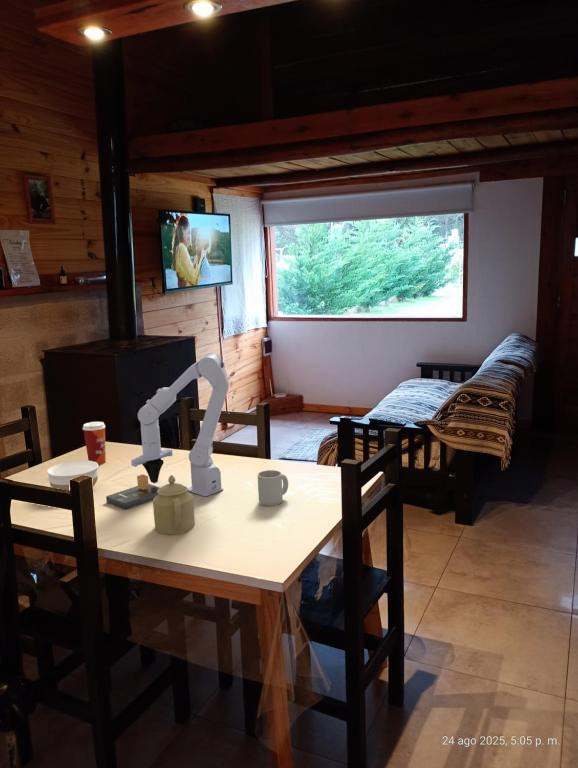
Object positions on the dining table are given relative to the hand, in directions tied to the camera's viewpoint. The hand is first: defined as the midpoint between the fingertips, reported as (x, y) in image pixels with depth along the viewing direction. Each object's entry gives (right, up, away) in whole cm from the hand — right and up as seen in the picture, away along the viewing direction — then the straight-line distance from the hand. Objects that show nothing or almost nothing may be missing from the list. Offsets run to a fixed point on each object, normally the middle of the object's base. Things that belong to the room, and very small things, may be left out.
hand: (154, 482), depth 205 cm
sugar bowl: (+13, -8, -29) cm, 33 cm away
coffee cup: (-28, +2, +33) cm, 43 cm away
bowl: (-27, -4, +4) cm, 27 cm away
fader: (-3, -2, -3) cm, 4 cm away
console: (-4, -4, -6) cm, 8 cm away
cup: (+39, -4, -12) cm, 41 cm away
